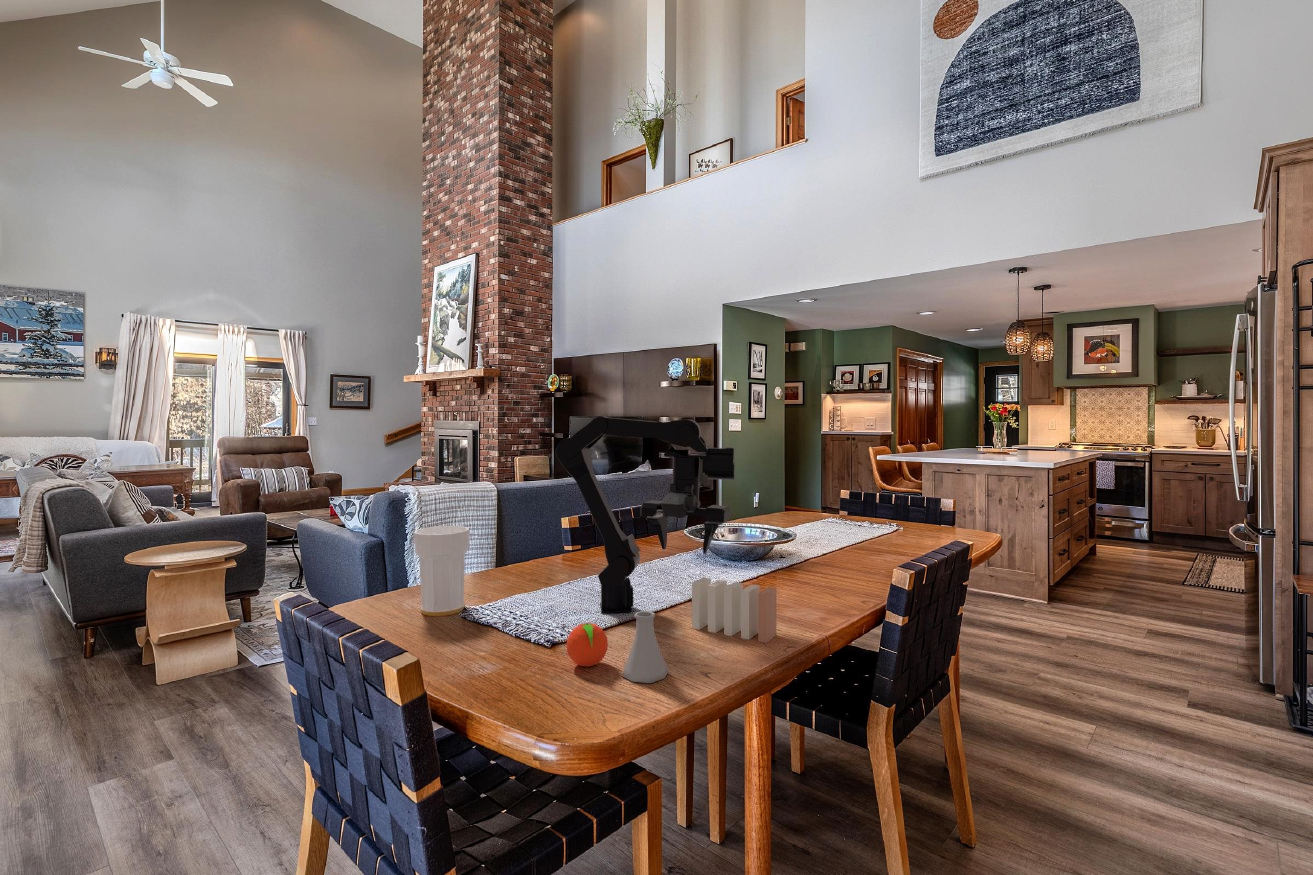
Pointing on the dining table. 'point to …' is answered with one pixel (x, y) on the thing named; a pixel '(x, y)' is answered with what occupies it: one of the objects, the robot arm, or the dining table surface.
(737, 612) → the domino
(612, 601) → the robot arm
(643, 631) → the flask
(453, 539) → the cup
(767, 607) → the domino
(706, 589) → the domino
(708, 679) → the dining table surface
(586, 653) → the clementine
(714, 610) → the domino
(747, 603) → the domino
